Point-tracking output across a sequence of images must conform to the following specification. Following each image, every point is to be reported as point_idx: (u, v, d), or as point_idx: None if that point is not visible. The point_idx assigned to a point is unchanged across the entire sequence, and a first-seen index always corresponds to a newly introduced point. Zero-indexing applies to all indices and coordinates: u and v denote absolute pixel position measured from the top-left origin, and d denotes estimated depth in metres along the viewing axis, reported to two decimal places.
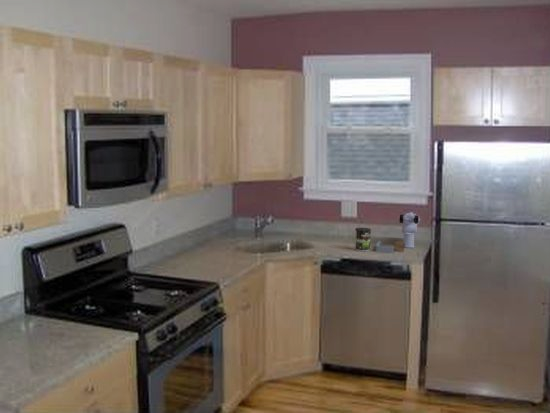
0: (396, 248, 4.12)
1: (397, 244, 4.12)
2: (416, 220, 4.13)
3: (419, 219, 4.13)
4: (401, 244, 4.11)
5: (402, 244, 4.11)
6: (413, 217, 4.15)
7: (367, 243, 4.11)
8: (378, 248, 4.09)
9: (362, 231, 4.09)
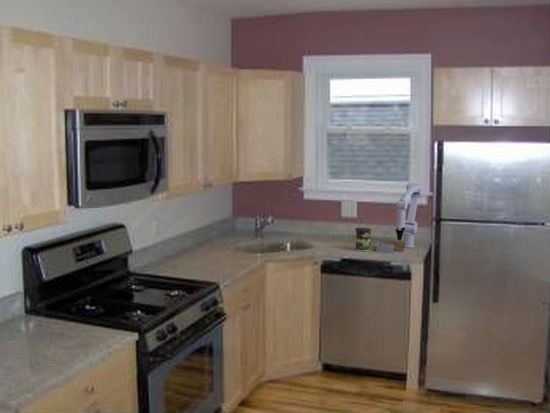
0: (396, 248, 4.12)
1: (397, 244, 4.12)
2: (400, 230, 4.07)
3: (399, 229, 4.05)
4: (401, 244, 4.11)
5: (402, 244, 4.11)
6: (398, 227, 4.09)
7: (367, 243, 4.11)
8: (378, 248, 4.09)
9: (362, 231, 4.09)
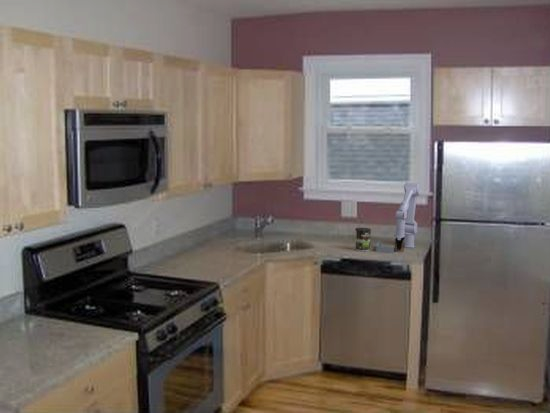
0: (396, 248, 4.12)
1: None
2: None
3: (398, 239, 4.06)
4: None
5: (402, 244, 4.11)
6: None
7: (367, 243, 4.11)
8: (378, 248, 4.09)
9: (362, 231, 4.09)
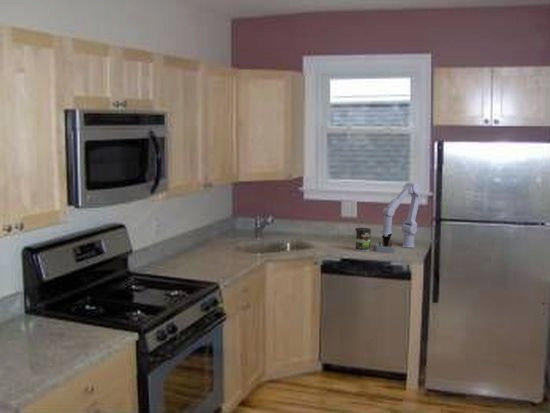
0: (384, 246, 4.18)
1: None
2: (387, 237, 4.14)
3: (385, 236, 4.12)
4: (389, 242, 4.17)
5: (390, 242, 4.17)
6: (384, 233, 4.16)
7: (367, 243, 4.11)
8: (378, 248, 4.09)
9: (362, 231, 4.09)
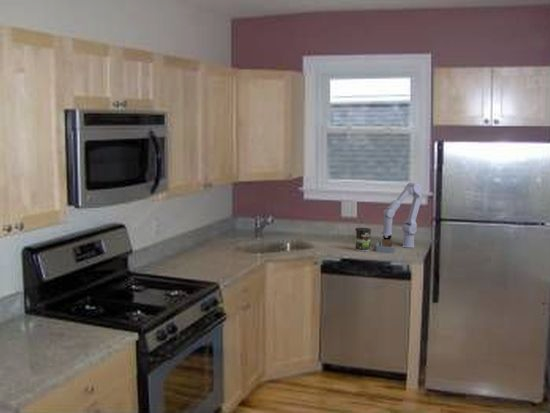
0: (384, 246, 4.18)
1: (385, 242, 4.17)
2: (387, 237, 4.21)
3: None
4: (389, 242, 4.16)
5: (389, 242, 4.16)
6: (385, 234, 4.20)
7: (367, 243, 4.11)
8: (378, 248, 4.09)
9: (362, 231, 4.09)
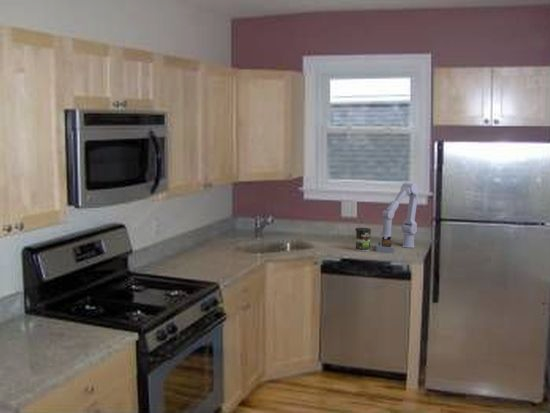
0: None
1: (384, 244, 4.12)
2: (387, 238, 4.16)
3: (385, 238, 4.11)
4: (388, 244, 4.11)
5: (389, 244, 4.11)
6: (384, 236, 4.15)
7: (367, 243, 4.11)
8: (378, 248, 4.09)
9: (362, 231, 4.09)
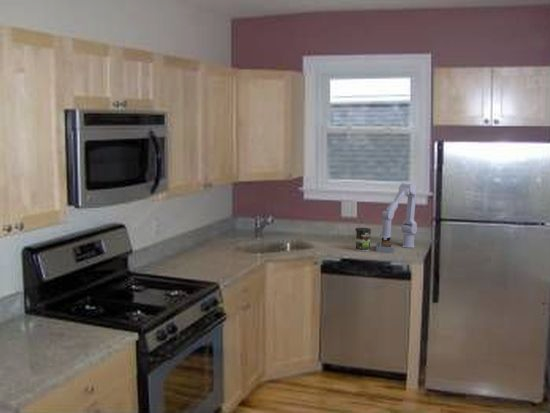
0: None
1: (383, 245, 4.09)
2: (386, 239, 4.13)
3: None
4: (387, 245, 4.08)
5: (388, 245, 4.08)
6: None
7: (367, 243, 4.11)
8: (378, 248, 4.09)
9: (362, 231, 4.09)
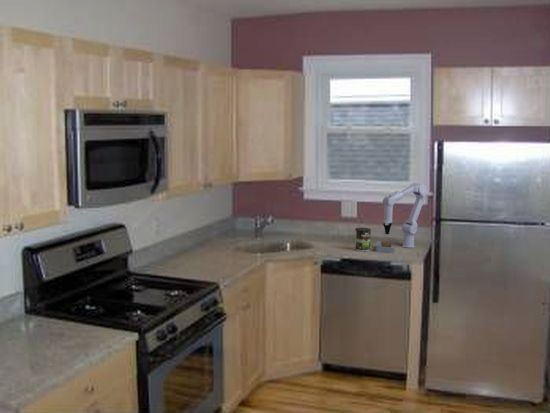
0: None
1: (384, 244, 4.10)
2: (388, 225, 4.17)
3: (386, 224, 4.12)
4: (388, 244, 4.10)
5: (389, 244, 4.09)
6: (385, 222, 4.16)
7: (367, 243, 4.11)
8: (378, 248, 4.09)
9: (362, 231, 4.09)
